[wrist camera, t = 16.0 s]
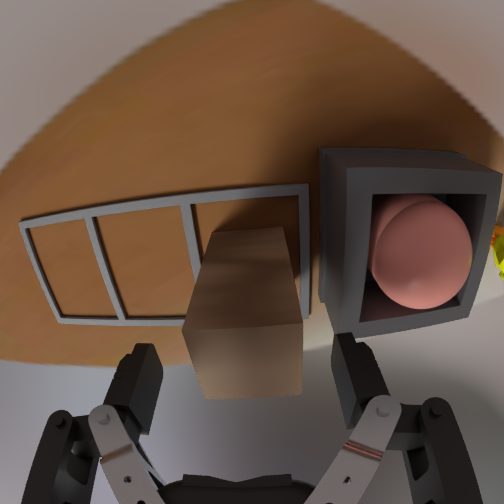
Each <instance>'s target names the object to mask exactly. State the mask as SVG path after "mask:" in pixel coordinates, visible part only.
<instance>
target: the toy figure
mask: <svg viewBox="0 0 504 504" xmlns="http://www.w3.org/2000/svg"><path fill="white" fill-rule="evenodd" d="M490 248H493V254H494V259H495V265H496V266H497V267H498V268H499V269H500V270H501V272H500V273H499V275H500V276H501V278H502V279H503V280H504V228H503V227H501V226H499V225H495V227H494V231H493V236H492V240H491V245H490Z"/></svg>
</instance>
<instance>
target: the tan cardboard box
mask: <svg viewBox="0 0 504 504" xmlns="http://www.w3.org/2000/svg"><path fill="white" fill-rule="evenodd" d="M182 333H183V336H184V339H185V342H186V345H187V348H188V351H189V354H190V357H191V360H192V363H193V366H194V369H195V372H196V374H197V377H198V380H199V383H200V385H201V388H202V390H203V393H204V396H205V398H206V399H240V398H262V397H276V396H288V395H299V394H302V367H303V320H302V315H301V310H300V305H299V300H298V295H297V290H296V285H295V280H294V275H293V271H292V266H291V261H290V256H289V252H288V247H287V243H286V238H285V234H284V229H283V226H280V227H268V228H256V229H245V230H234V231H223V232H213V233H212V234H211V237H210V240H209V243H208V246H207V249H206V252H205V255H204V258H203V261H202V265H201V268H200V271H199V274H198V277H197V281H196V284H195V287H194V290H193V294H192V297H191V300H190V304H189V307H188V310H187V314H186V317H185V321H184V324H183V328H182Z"/></svg>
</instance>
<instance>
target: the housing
mask: <svg viewBox="0 0 504 504" xmlns="http://www.w3.org/2000/svg"><path fill="white" fill-rule="evenodd" d="M318 153H319V188H320V254H319V289H318V295H319V298H320V302H321V303H323V302H325V305H326V308H327V312H328V315H329V318H330V321H331V325H332V328H333V331H334V334H338V333H346V332H352V334H353V336H354V339H355V338H362V337H369V336H376V335H382V334H388V333H394V332H400V331H406V330H411V329H416V328H421V327H426V326H431V325H436V324H441V323H445V322H450V321H454V320H459V319H462V318H467V317H468V316H469V314H470V311H471V308H472V305H473V302H474V300H475V297H476V294H477V291H478V288H479V284H480V281H481V278H482V275H483V271H484V268H485V264H486V260H487V257H488V253H489V249H490V245H491V240H492V236H493V231H494V227H495V222H496V216H497V211H498V205H499V199H500V192H501V184H502V176H503V174H502V173H499V172H497V171H495V170H492V169H490V168H487V167H485V166H483V165H480V164H478V163H475V162H472V161H470V160H467V159H465V157H466V155H463V154H460V153H457V152H448V151H436V150H422V149H405V148H376V147H326V148H318ZM404 193H428V194H430V195H431V196H433V197H435V198H436V199H438V200H440V201H441V202H443V203H444V204H446V205H447V206H449V207H450V208H451V209H453V210H454V211H455V212H456V213H457V214H458V215H459V217H460V218H461V219H462V221H463V222H464V224H465V226H466V228H467V230H468V232H469V236H470V239H471V244H472V263H471V268H470V272H469V274H468V277H467V279H466V281H465V283H464V285H463V286H462V288H461V289H460V290H459V291H458V293H457V294H456V295H455V296H453V297H452V298H451V299H450V300H448V301H447V302H445V303H443V304H441V305H439V306H437V307H433V308H429V309H413V308H408V307H405V306H403V305H400V304H398V303H397V302H395V301H393V300H392V299H391V298H389V297H388V296H387V295H386V294H385V293H384V292H383V290H382V289H381V288H380V287H379V285H378V283H377V282H376V280H375V278H374V277H373V275H372V273H371V272H370V270H369V269H368V267H367V259H368V249H369V238H370V225H371V210H372V199H373V198H374V197H375V196H376V195H377V194H404Z"/></svg>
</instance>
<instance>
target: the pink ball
mask: <svg viewBox="0 0 504 504" xmlns="http://www.w3.org/2000/svg"><path fill="white" fill-rule="evenodd" d="M471 263H472V244H471V239H470V236H469V232H468V230H467V228H466V226H465V224H464V222H463V221H462V219H461V218H460V217H459V215H458V214H457V213H456V212H455V211H454V210H453V209H451V208H450V207H449V206H447V205H446V204H444V203H443V202H441V201H440V200H438V199H436V198H435V197H433V196H431V195H430V194H428V193H404V194H377V195H376V196H375V197H374V198H373V199H372V210H371V225H370V238H369V249H368V259H367V267H368V269H369V270H370V272H371V273H372V275H373V277H374V278H375V280H376V282H377V283H378V285H379V287H380V288H381V289H382V290H383V292H384V293H385V294H386V295H387V296H388V297H389V298H391V299H392V300H393V301H395V302H397V303H398V304H400V305H403V306H405V307H408V308H413V309H429V308H433V307H437V306H439V305H441V304H443V303H445V302H447V301H448V300H450V299H451V298H452V297H453V296H455V295H456V294H457V293H458V291H459V290H460V289H461V288H462V286H463V285H464V283H465V281H466V279H467V277H468V274H469V272H470V268H471Z"/></svg>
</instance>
